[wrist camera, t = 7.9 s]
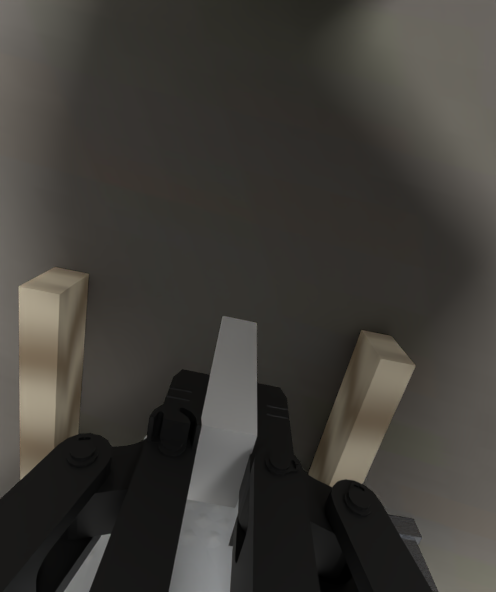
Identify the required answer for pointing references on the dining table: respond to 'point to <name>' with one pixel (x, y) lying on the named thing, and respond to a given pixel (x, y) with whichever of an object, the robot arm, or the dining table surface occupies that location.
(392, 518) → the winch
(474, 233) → the dining table surface
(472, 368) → the dining table surface
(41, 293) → the bay
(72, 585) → the mug
